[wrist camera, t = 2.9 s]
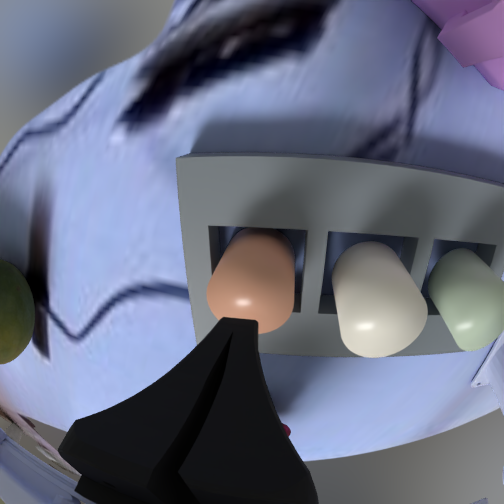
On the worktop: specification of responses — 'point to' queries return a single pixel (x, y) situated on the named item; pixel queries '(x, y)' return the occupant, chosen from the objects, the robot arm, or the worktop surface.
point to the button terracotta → (255, 279)
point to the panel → (331, 229)
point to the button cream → (376, 301)
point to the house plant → (14, 432)
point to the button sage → (468, 298)
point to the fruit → (14, 312)
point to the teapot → (471, 33)
